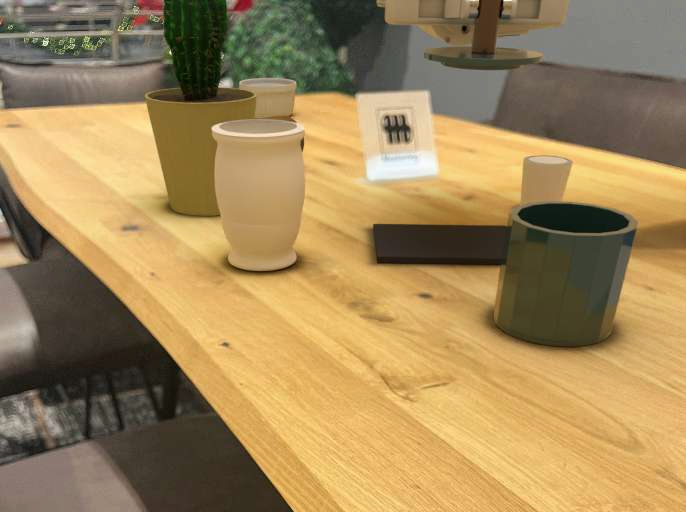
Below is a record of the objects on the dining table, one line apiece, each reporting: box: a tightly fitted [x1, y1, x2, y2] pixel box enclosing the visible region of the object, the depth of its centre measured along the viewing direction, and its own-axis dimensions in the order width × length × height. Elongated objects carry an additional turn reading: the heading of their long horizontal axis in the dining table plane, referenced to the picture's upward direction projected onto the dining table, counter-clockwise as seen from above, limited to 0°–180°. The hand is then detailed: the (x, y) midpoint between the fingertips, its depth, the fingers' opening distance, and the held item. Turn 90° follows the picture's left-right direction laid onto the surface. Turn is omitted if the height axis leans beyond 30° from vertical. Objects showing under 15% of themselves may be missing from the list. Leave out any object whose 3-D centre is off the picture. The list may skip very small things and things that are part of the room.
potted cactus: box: [144, 0, 257, 217], centre depth 105 cm, size 15×15×30 cm
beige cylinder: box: [519, 154, 574, 206], centre depth 111 cm, size 7×7×7 cm
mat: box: [372, 223, 507, 266], centre depth 98 cm, size 18×14×1 cm
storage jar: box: [493, 200, 639, 348], centre depth 75 cm, size 12×12×10 cm
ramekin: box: [238, 77, 297, 118], centre depth 176 cm, size 13×13×7 cm
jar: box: [212, 119, 306, 272], centre depth 89 cm, size 11×10×15 cm
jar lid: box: [423, 0, 544, 71], centre depth 80 cm, size 13×13×9 cm
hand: (490, 8), depth 79 cm, fingers closed on jar lid, 2 cm apart
